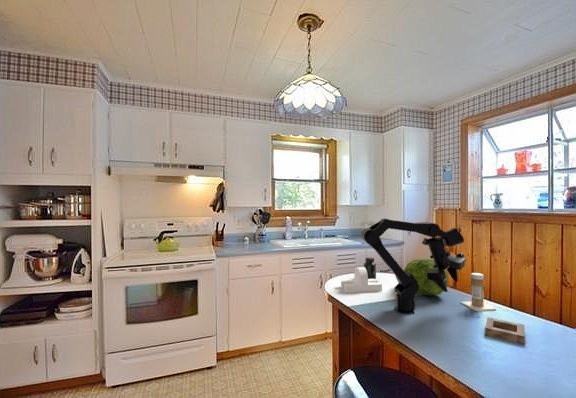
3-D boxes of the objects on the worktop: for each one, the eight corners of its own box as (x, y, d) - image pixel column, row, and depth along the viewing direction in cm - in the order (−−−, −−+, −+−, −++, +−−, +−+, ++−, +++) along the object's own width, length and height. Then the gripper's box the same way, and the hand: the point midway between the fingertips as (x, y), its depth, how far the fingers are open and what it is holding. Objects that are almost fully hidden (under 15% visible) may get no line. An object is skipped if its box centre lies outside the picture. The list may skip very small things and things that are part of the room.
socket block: (485, 334, 99) (485, 327, 99) (487, 323, 108) (487, 317, 108) (525, 344, 93) (525, 336, 93) (524, 331, 101) (524, 324, 101)
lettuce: (422, 285, 156) (413, 253, 158) (460, 291, 134) (449, 255, 136) (396, 295, 150) (387, 262, 152) (432, 303, 128) (421, 265, 130)
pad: (475, 311, 120) (475, 309, 120) (460, 303, 129) (460, 301, 129) (496, 310, 120) (496, 308, 120) (479, 302, 129) (479, 300, 129)
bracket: (345, 293, 144) (345, 270, 144) (340, 287, 154) (340, 265, 154) (382, 291, 146) (382, 269, 146) (375, 285, 156) (375, 264, 156)
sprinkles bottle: (486, 305, 124) (485, 274, 123) (479, 307, 122) (479, 275, 121) (475, 302, 128) (474, 271, 128) (468, 304, 126) (468, 273, 125)
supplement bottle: (376, 280, 164) (376, 259, 164) (364, 280, 165) (364, 259, 165) (375, 277, 171) (375, 257, 170) (363, 276, 172) (363, 256, 172)
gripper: (446, 259, 109) (461, 299, 109) (468, 241, 119) (481, 277, 119) (419, 260, 118) (433, 296, 118) (441, 243, 128) (454, 276, 128)
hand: (451, 286), depth 120 cm, fingers open, 9 cm apart
